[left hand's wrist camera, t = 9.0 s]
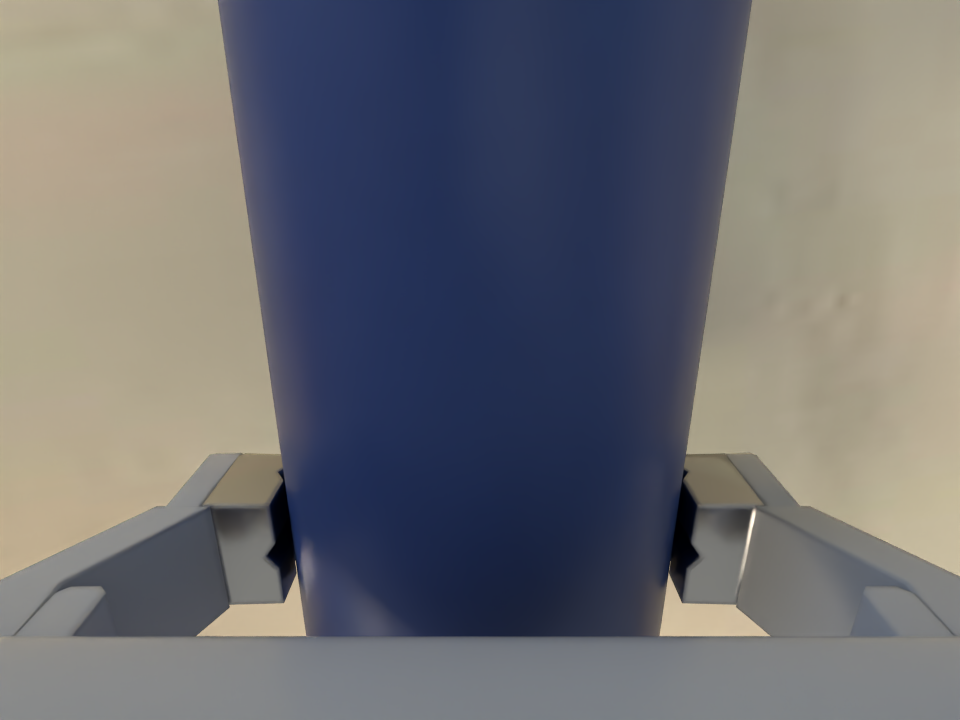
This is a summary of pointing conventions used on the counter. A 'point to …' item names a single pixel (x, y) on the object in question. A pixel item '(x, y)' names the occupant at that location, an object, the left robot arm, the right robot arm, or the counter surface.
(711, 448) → the counter surface
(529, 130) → the rod
